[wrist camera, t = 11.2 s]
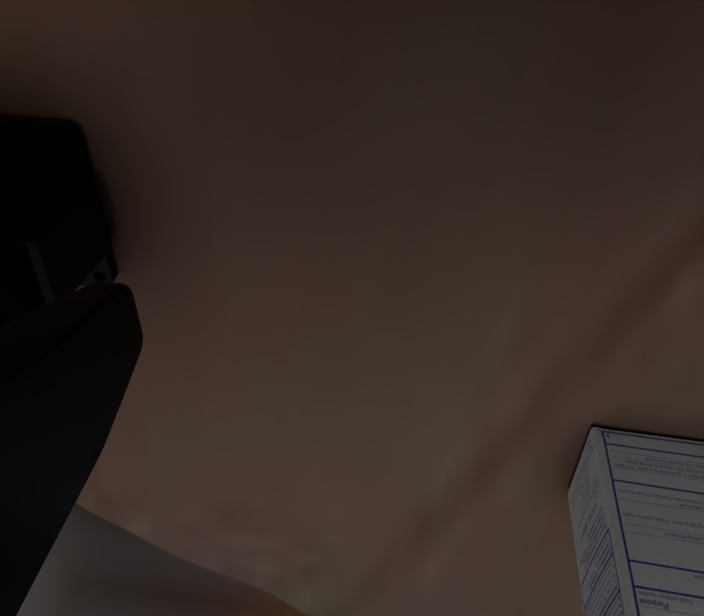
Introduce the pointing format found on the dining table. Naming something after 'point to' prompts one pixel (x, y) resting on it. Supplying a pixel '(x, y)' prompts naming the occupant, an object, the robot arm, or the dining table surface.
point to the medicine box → (639, 524)
